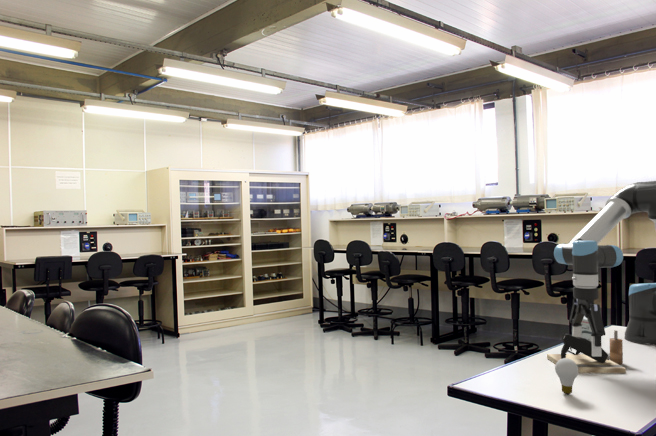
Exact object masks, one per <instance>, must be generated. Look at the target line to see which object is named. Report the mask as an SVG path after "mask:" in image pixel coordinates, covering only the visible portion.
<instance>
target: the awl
mask: <svg viewBox="0 0 656 436" xmlns="http://www.w3.org/2000/svg"><path fill="white" fill-rule="evenodd" d="M613 333H614V334H613V338H609V358H610V360H611V361H613V362H615V363H617V364H619V365H621V366H622V365H623V364H624V360H623V359H624V358H623V357H624V355H623V347H624V346H623V339H622V338H619V337H618V336H619V335H618V330H616V329H615V330H614V331H613Z"/></svg>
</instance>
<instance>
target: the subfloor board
mask: <svg viewBox="0 0 656 436" xmlns="http://www.w3.org/2000/svg"><path fill="white" fill-rule="evenodd" d="M546 354H547V355H546V358H547V360H549V361H550V362H552V363H553V364H555V365H556V363H557V362H558V361H559V360H560V359H561V353H546ZM566 358H568V359H571V360H573V361H574V362H575V363H576V364H577V366H578V374H580V373H581V374H585V373H586V374H627V368H626V367H624V366H623V365H622V364H621V365H619V364H617V363H615V362H613V361H611V360H606V361H605V363H600V362H598V361H596V360H594V359H592V358H590V357H588V356H586V355H584V354H583V353H579V354H578V355H573V354H571V353H566Z"/></svg>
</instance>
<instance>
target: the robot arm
mask: <svg viewBox="0 0 656 436" xmlns="http://www.w3.org/2000/svg"><path fill="white" fill-rule="evenodd" d="M636 213H647V217H648V219H649V220H650V221H652V222H653V223H654V224H653V225H654V229H655V231H656V180H651V181H650V180H649V181H639V182H638V181H637V182H633V183H631V184H628V185H627V186H624V187H623V188H620V189H619V190H618V191H617V192H616V193H614V194H613V195H611V196H610V197H609V198H608V199H607V200H606V201H605V205H604V207H603V208H602V209H601V210H600V211H599V212H598V213H597V214H596V215H595V216H594V217H593V218H592V219H591V220H590V221H589V222H588V223H587V224H586V225H584V227H583V228H582V229H580V230H579V232H577V234H576V235H575V236H573V238H571V240H570V241H569V242H568V243H565V242H564V243H560V244H557V245H556V246H555V247H554V251H553V256H554V259H555V261H556V262H557V263H558V264H562V265H566V266H572V277H571V279H572V285H573V287H572V297H573V298H572V306H571V310H570V315H569V323H570V324H571V327H572V326H573V336H574V337H581V338H582V327H579V326H582V324H581V322H582V320H583V318H584V316H585V317H586V318H587V319H588V322H589V325H590V328H591V330H592V334H591V337H592V356H593V357H594V356H602V349H603V347H602V337H603V336H606V330H605V326H604V323H603V317H602V313H601V305H600V304H595V300H598V299H599V288H598V286H599V269H600V268H602V269H603V268H610V269H611V268H614V267H617V266H619V265H621V264H622V262H623V260H624V253H623V251H622V249H621V248H620V247H618V246H617V245H612V244H606V245H605V244H604V245H603V244H602V245H600V244H599V243H600V242H601V241H603V239H605V237H606V236H607V235H608V234H609V233H610V232H611V231H612V230H613V229H615V227H616V226H618V224H619V223H620V222H621V221H622V220H624V219H628V218H629V217H631V215H633V214H636ZM628 307H629V308H628V310H629V314H628V315H629V321H628V323H627V326H626V328H625V331H624V339H625V340H626V341H628V342H629V341H630V342H632V343H637V344H643V345H644V344H645V345H654V346H655V345H656V282H647V283H633V284H631V285H629V289H628Z"/></svg>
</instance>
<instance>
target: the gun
mask: <svg viewBox="0 0 656 436" xmlns="http://www.w3.org/2000/svg"><path fill="white" fill-rule="evenodd" d="M561 340H562V343H563V345H562V348H561V352H560V354H561V359H563V358H566V354H568V353H569V354H573V355H578V354H584V355H586V356H588V357H590V358H592V359H594V360H596V361H598V362H600V363H605V361H606V360H610V356H609V355H608V353H607V352H606V350H605V349H603V348H602V356H594V357H593V356H592V341H590V340H588V339H586V338H581V337H574V336H572V334H569V333H564V334H563V335H562V338H561ZM572 349H573V350H575V351H576V352H573V350H572Z"/></svg>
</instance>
